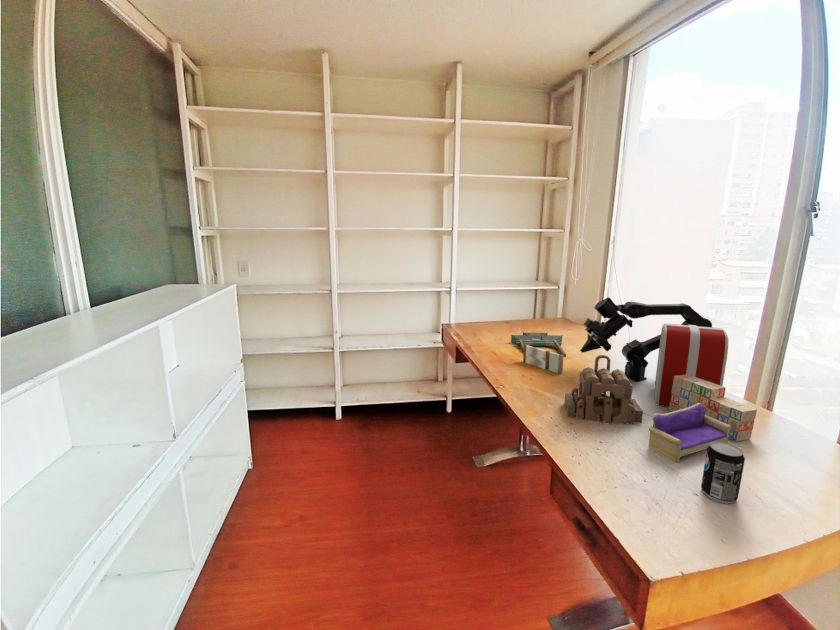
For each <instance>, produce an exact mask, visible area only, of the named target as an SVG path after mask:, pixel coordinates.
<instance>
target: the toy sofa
mask: <svg viewBox="0 0 840 630" xmlns="http://www.w3.org/2000/svg"><path fill="white" fill-rule="evenodd" d="M705 413H706V407H705V406H704V405H703V404H701V403H697V404H695V405H693V406H691V407H688V408H684V409H681V410H677V411H673V412H672V411H670V412H666V413H654V414H653V415H652V425H650V426H649V427H648V432H649V437H648V438H649V440H648V448H649V449H650V450H653V451H654V452H656V453H658V454H659V455H661V456H663V457H664V458H667V459H669V460H670V461H672V462H674V463H676V464H678V463H680V458H681V457H684V456H688V455H691V454H694V453H697V452H699V451H700V452H701V451H703V450H707V448H708V447H709V446H710V443H711V442H714V441H721V442H726V443H729V442H728V441H729V438H728V437H729V432H730V430H731V428H732V427H731V426H730V425H728V424H725V423H723V422H721V421H718V420H716V419H713V418H711V417H709V416H706V415H705Z"/></svg>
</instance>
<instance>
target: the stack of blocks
mask: <svg viewBox="0 0 840 630" xmlns="http://www.w3.org/2000/svg"><path fill="white" fill-rule="evenodd" d="M725 393H726V386H720V385H717V384H714V383H712V382H709V381H705V380H703V379H700V378H697V377H694V376H688V375H677V376H674V380H673V385H672V394H671V401H670V406H669V407H668V411H670V412H673V411H677V410H681V409H684V408H688V407H691V406H693V405H695V404H697V403H701V404H703V405H704V406H705V407H706V413H705V415H706V416H709V417H711V418H713V419H716V420H718V421H721V422H723V423H725V424H728V425H730V426H731V427H732V428H731V430H730V432H729V437H728V440H731V441H734V442H742V441H746V440H751V438H752V433H753V429H754V424H755V419H756V416H757V412H758V409H757V408H755V407H752V406H749V405H747V404H744V403H741V402H739V401H736V400H734V399H731V398H729V397H725Z"/></svg>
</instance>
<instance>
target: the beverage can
mask: <svg viewBox="0 0 840 630" xmlns="http://www.w3.org/2000/svg"><path fill="white" fill-rule="evenodd" d="M745 459H746V458H745V456H744V451H743V449H741V448H740V447H738V445H737V446H736V445H735V444H733V443H729V442H728V443H726V442H721V441H714V442H711V443H710V446H709V447H708V448H707V449H706V453H705V460H704V466H703V471H702V472H703V473H702V479H701V485H700V487H701V491H702V492H703V493H704V495H706V497H708V499H709V498H710V499H711V500H712V501H714V502H717V503H721V504H727V505H729V504H732V503H735V502H737V501H738V499H739V494H740V489H741V483H742V478H743V473H744V472H743V471H744V466H745V461H746V460H745Z"/></svg>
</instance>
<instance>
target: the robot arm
mask: <svg viewBox="0 0 840 630" xmlns="http://www.w3.org/2000/svg"><path fill="white" fill-rule="evenodd" d="M594 310H595V311H597V313H598V314H599V315H600V316H602V318H603V319H607V320H606V321H605V322H604V321H601V322H599V321H598V320H596V319H594V320H593V319H591V318H589V317H587V318H586V320H585V322H584V324H583V325H584V326H585V329H584V330H585V331H586V332H587V333H586V335H587V339H586V341H585V342H584V344H583V345H582V346H581V349H580V353H587V352H590V351H591V352H592V351H595V350H599V349H602V348H603V350H605V351H606V352H607V353H608V352H609V351H610V350H611V349H612V344H611V343H609V339H611V337H613V336H614V337H616V336H617V333H618V332H619V331H620V330H621V329H623V328H624V327H625V326H628V327H630V328H633V320H632V319H641V318H645V317H649V316H673V315H674V316H677V315H678V316H679V315H680V316H681V317H682V319H684V321H683V322H682V323H680V325H696V326H700V327H712V328H713V324H712V321H711V320H710V319H708V318H705V317H703V316H702V315H700V313H699V312H697V311H696V310H694V309H693V307H692V306H691V305H688V304H686V303H670V304H669V303H668V304H665V303H661V304H660V303H659V304H652V303H651V304H647V303H643V302H642V303H641V302H636V301H627V302H625V303H624V304H616V303H615V302H613V300H612V299H611V298H610V296H607V297H606V298H604V299H602V300H599V301H598V302H597V303H596V304H595V305H594ZM620 313H621V314H620ZM628 317H629V318H628ZM630 318H631V319H630ZM660 338H661V333H660V334H658V335H656V336H653V337H652V338H648V339H647V340H644V341H639V340H638V339H633V340H632V341H630V342H625V345H623V346H622V348H621V354H622V356H623V357H624V358H625V361H626V364H625V365H624V374H625V375H626V377H627V378H628V379H629V380H631V381H633V382H636V383H637V382H641V381H644V380H647V379H648V378H647V377H645V375H646V368H647V366H648V364H649V362H648V360H646V359H645V358H647V356H648V355H650V353H652V352H654V351H656V350H659V347H660Z"/></svg>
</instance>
